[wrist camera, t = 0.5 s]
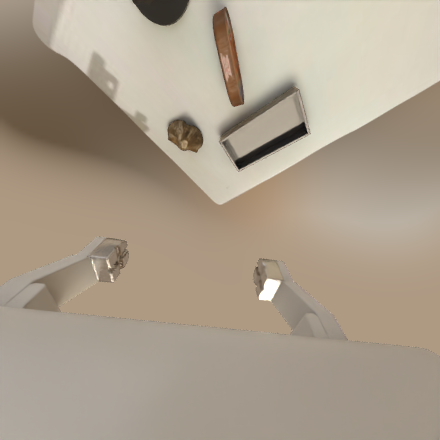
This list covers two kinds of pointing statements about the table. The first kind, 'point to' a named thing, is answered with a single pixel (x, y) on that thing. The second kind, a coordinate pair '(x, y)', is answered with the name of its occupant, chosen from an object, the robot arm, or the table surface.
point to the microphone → (162, 10)
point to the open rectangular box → (267, 130)
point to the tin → (228, 56)
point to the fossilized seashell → (185, 136)
